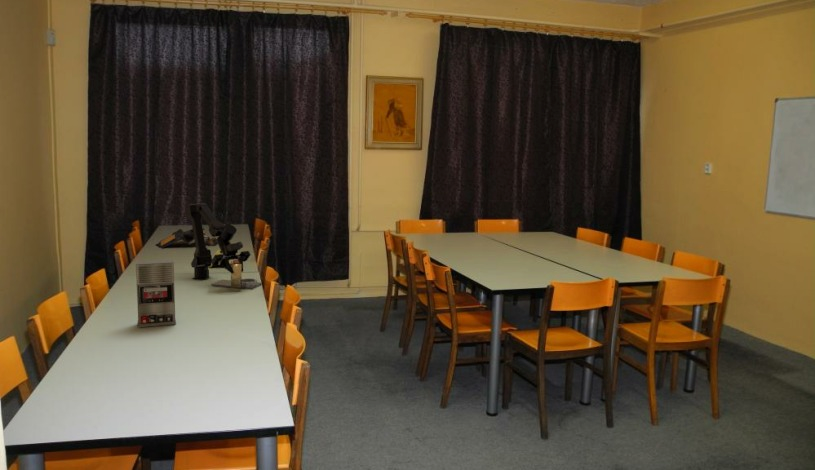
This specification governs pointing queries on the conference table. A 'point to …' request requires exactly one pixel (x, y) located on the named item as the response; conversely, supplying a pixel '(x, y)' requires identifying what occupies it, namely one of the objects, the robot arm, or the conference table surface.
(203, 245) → the robot arm
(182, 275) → the conference table surface
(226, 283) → the plate
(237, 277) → the tan bottle
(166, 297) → the cassette tape recorder
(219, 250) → the plastic component
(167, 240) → the toolset
